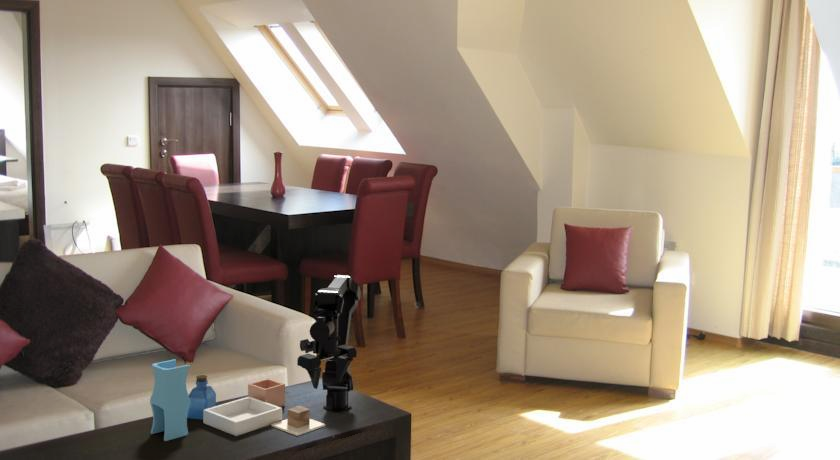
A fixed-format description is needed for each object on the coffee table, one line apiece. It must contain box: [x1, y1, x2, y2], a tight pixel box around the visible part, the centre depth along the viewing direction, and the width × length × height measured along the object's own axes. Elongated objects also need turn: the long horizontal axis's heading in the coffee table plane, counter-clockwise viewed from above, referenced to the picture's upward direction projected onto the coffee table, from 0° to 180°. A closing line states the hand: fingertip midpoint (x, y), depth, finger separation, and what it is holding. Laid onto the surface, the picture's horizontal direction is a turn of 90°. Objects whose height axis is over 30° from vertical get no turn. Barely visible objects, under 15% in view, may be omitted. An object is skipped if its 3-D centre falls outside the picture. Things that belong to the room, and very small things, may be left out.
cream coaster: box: [270, 418, 326, 437], centre depth 254 cm, size 11×11×1 cm
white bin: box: [202, 396, 283, 437], centre depth 256 cm, size 17×15×4 cm
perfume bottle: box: [187, 374, 217, 420], centre depth 259 cm, size 6×6×12 cm
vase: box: [149, 358, 191, 442], centre depth 244 cm, size 8×8×20 cm
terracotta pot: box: [247, 378, 286, 408], centre depth 270 cm, size 8×8×7 cm
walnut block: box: [286, 405, 311, 428], centre depth 253 cm, size 4×4×4 cm
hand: (327, 385), depth 254 cm, fingers open, 9 cm apart
